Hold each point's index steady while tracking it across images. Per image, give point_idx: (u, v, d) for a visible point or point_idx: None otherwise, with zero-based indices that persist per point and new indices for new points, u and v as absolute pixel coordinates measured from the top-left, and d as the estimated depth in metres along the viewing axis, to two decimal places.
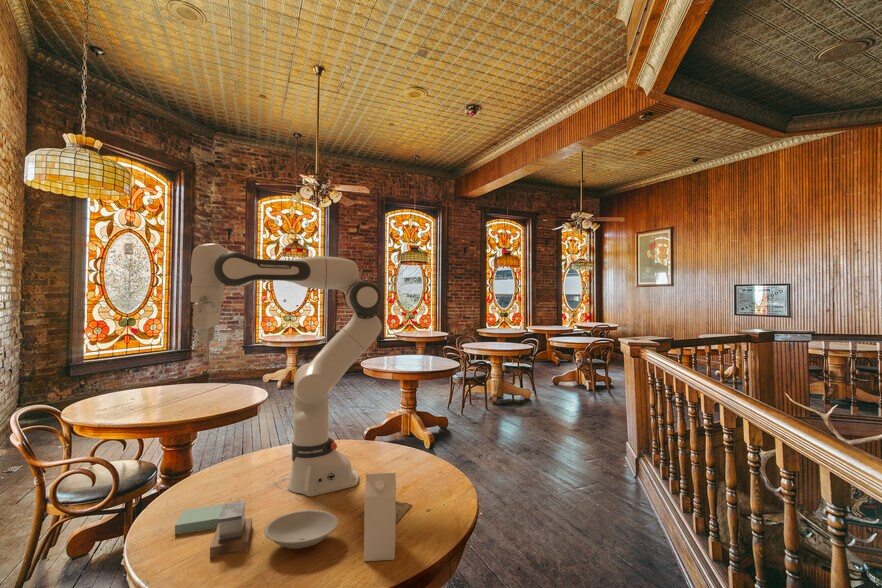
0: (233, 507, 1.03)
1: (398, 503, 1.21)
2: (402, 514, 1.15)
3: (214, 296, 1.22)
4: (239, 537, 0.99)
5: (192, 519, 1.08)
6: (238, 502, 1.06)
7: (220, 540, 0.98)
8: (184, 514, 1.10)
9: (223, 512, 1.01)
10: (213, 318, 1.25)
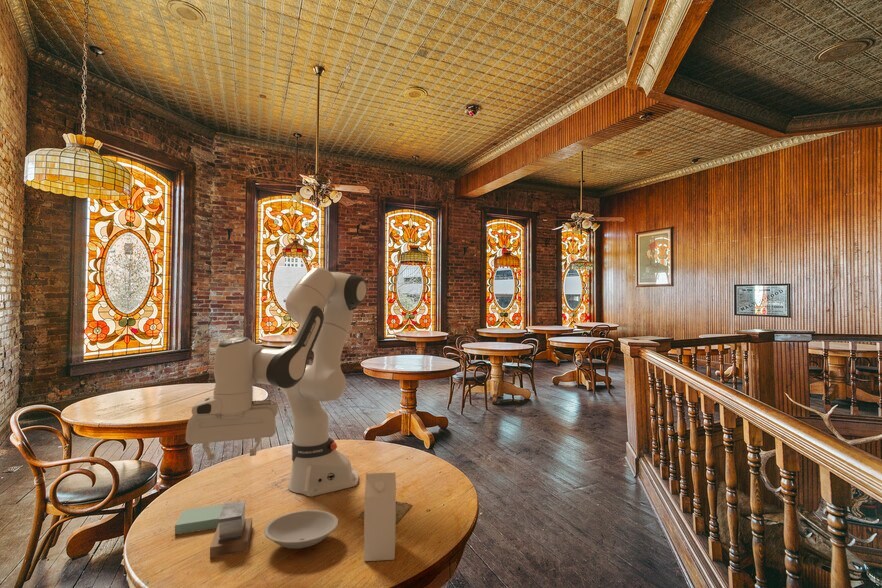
0: (233, 507, 1.03)
1: (398, 503, 1.21)
2: (402, 514, 1.15)
3: None
4: (239, 537, 0.99)
5: (192, 519, 1.08)
6: (238, 502, 1.06)
7: (220, 540, 0.98)
8: (184, 514, 1.10)
9: (223, 512, 1.01)
10: None
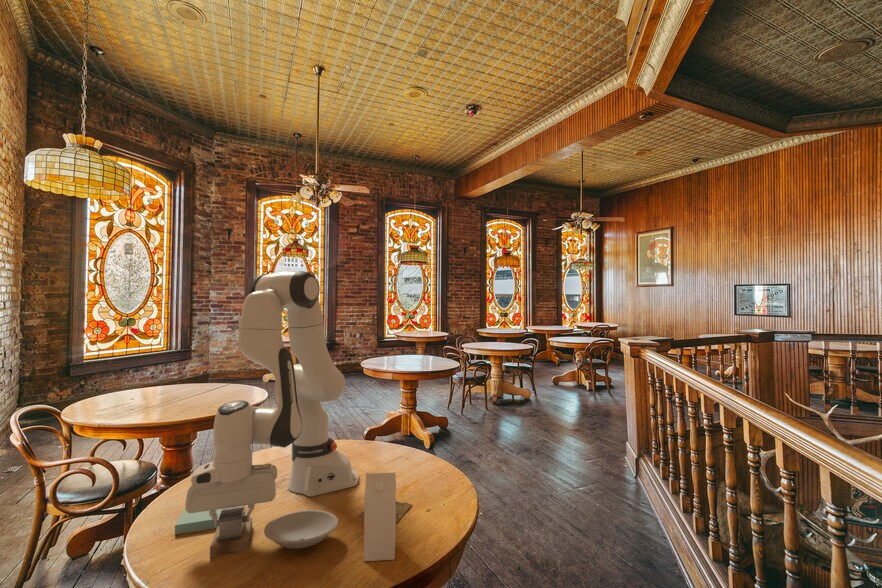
0: (233, 507, 1.03)
1: (398, 503, 1.21)
2: (402, 514, 1.15)
3: None
4: (239, 537, 0.99)
5: (192, 519, 1.08)
6: None
7: (220, 540, 0.98)
8: (184, 514, 1.10)
9: (223, 512, 1.01)
10: None
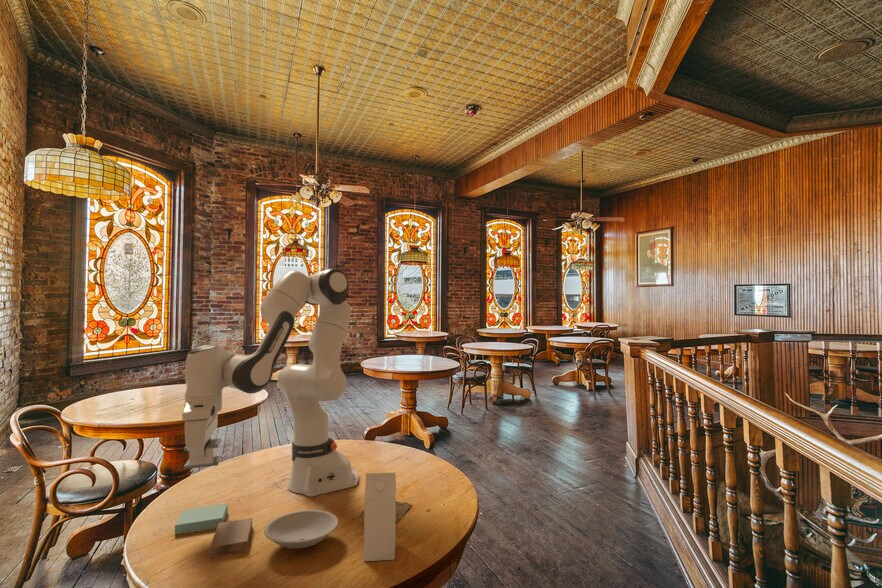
0: None
1: (398, 503, 1.21)
2: (402, 514, 1.15)
3: None
4: None
5: (192, 519, 1.08)
6: None
7: (218, 463, 1.10)
8: (184, 514, 1.10)
9: None
10: None
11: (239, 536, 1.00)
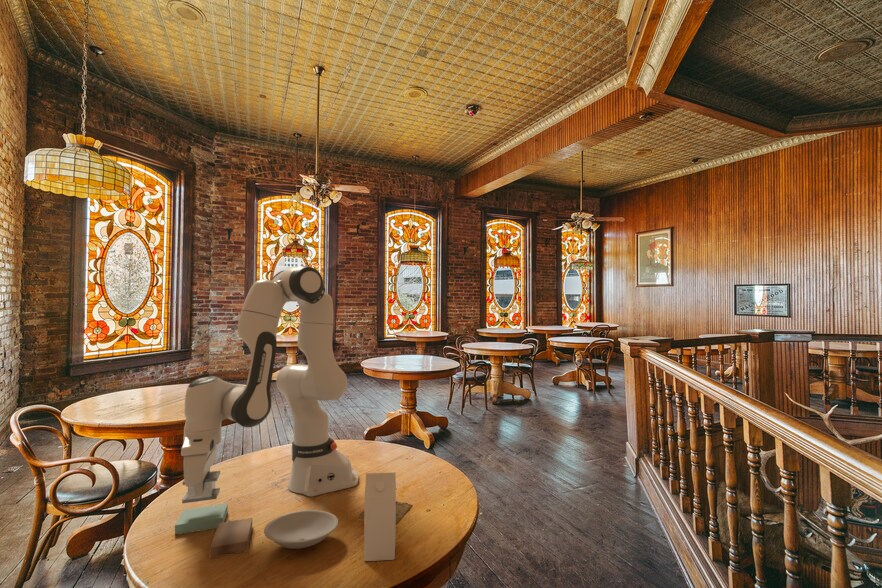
0: None
1: (398, 503, 1.21)
2: (402, 514, 1.15)
3: None
4: (219, 490, 1.14)
5: (192, 519, 1.08)
6: None
7: (216, 496, 1.10)
8: (184, 514, 1.10)
9: None
10: None
11: (239, 536, 1.00)
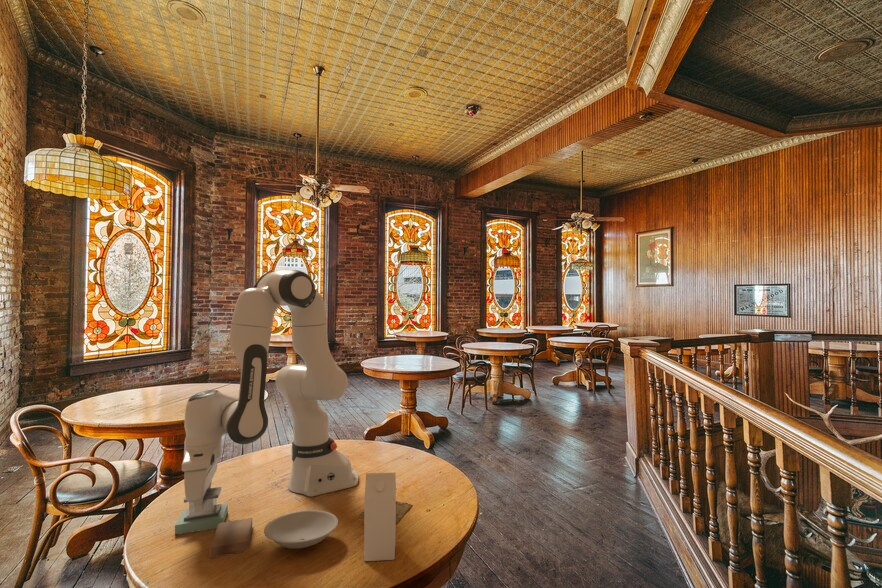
0: None
1: (398, 503, 1.21)
2: (402, 514, 1.15)
3: None
4: (220, 506, 1.14)
5: None
6: None
7: (218, 513, 1.10)
8: (184, 514, 1.10)
9: (204, 496, 1.09)
10: None
11: (239, 536, 1.00)
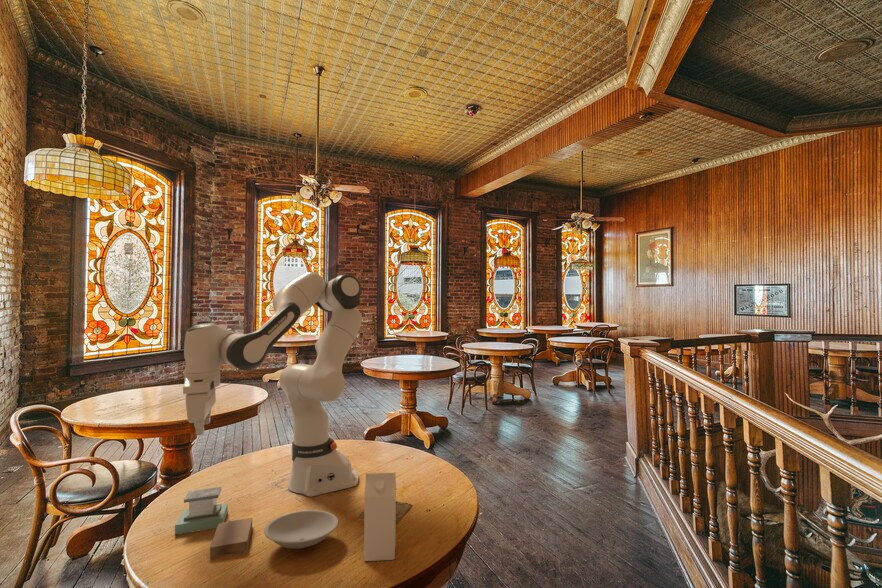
0: (199, 493, 1.10)
1: (398, 503, 1.21)
2: (402, 514, 1.15)
3: None
4: (220, 506, 1.14)
5: None
6: (190, 493, 1.10)
7: (218, 513, 1.10)
8: (184, 514, 1.10)
9: (204, 496, 1.09)
10: None
11: (239, 536, 1.00)
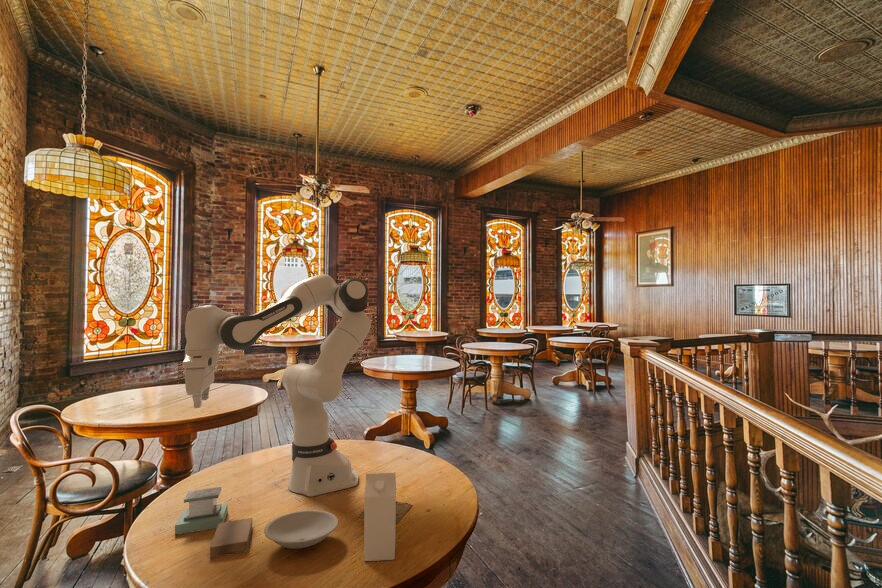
0: (199, 493, 1.10)
1: (398, 503, 1.21)
2: (402, 514, 1.15)
3: None
4: (220, 506, 1.14)
5: None
6: (190, 493, 1.10)
7: (218, 513, 1.10)
8: (184, 514, 1.10)
9: (204, 496, 1.09)
10: None
11: (239, 536, 1.00)
